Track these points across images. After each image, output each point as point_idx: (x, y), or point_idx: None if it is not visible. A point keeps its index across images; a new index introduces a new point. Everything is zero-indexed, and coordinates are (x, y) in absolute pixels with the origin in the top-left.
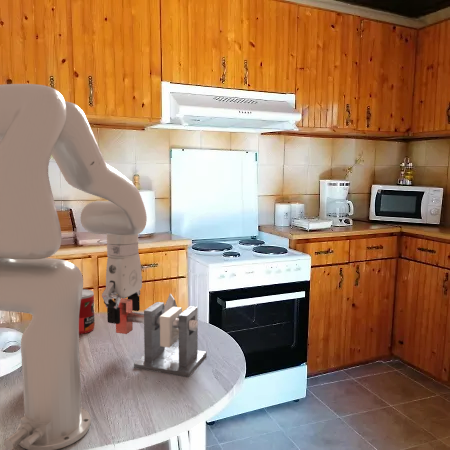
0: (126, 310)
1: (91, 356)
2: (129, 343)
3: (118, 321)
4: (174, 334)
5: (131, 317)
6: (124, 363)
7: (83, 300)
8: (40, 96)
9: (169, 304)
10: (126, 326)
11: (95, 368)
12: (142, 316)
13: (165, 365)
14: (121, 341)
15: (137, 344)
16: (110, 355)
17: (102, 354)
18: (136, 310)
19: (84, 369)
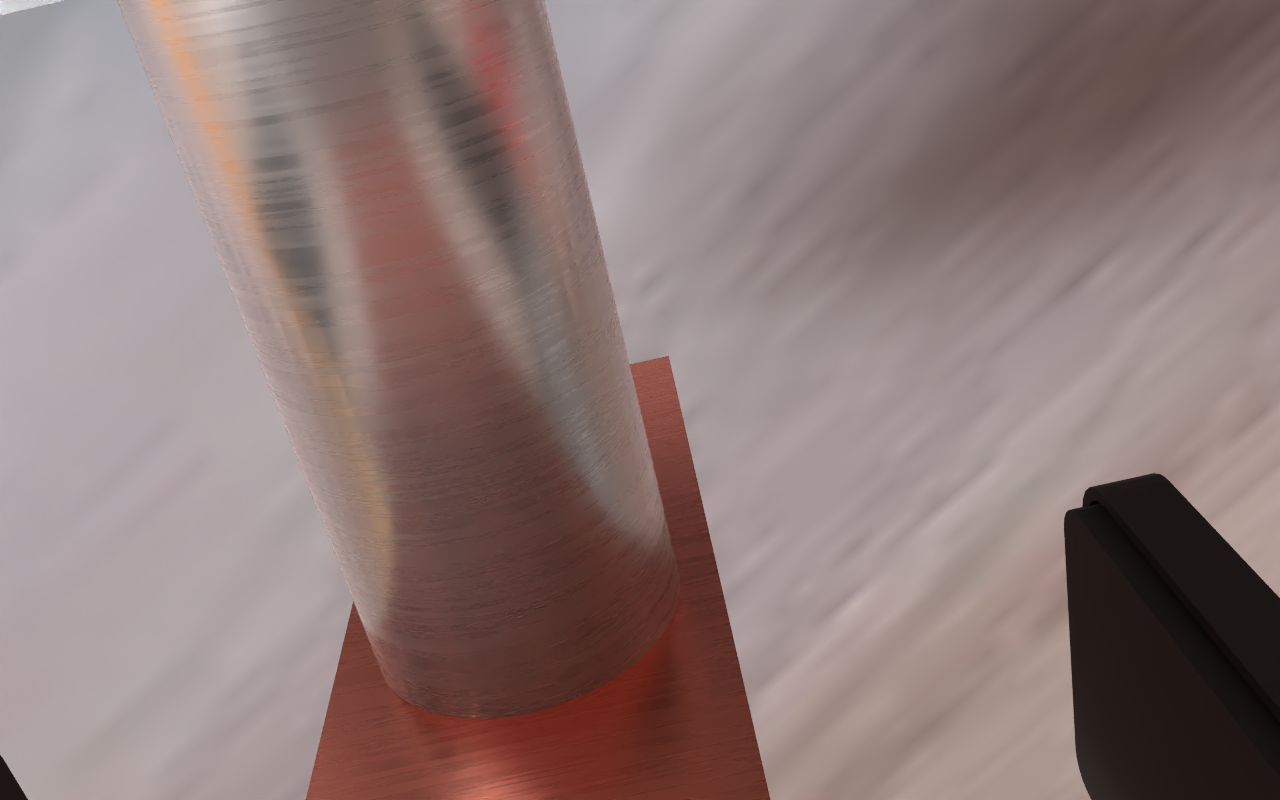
0: (731, 766)
1: (863, 602)
2: (239, 497)
3: (1190, 517)
4: None
5: (645, 462)
6: (826, 68)
7: None
8: None
9: None
10: (686, 444)
11: (1134, 313)
12: (488, 83)
13: None
14: (269, 628)
15: (178, 376)
16: (714, 433)
17: (745, 538)
18: (3, 780)
19: (1208, 408)
